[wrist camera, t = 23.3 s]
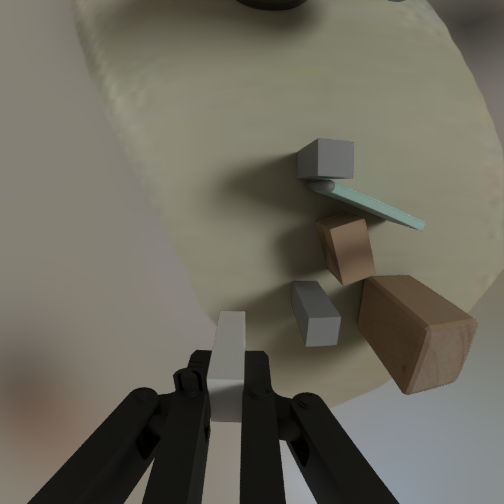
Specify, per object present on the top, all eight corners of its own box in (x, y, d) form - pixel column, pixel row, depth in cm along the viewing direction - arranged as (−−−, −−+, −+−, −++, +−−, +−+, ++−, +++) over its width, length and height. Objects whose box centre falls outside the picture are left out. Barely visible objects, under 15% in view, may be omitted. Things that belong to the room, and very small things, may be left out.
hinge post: (297, 152, 39) (318, 138, 27) (323, 153, 39) (353, 141, 27) (296, 178, 40) (317, 175, 28) (322, 179, 40) (353, 178, 28)
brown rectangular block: (315, 221, 42) (329, 229, 34) (344, 212, 42) (364, 218, 34) (327, 268, 44) (343, 286, 36) (355, 259, 43) (375, 274, 36)
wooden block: (354, 327, 46) (402, 399, 27) (362, 274, 44) (427, 330, 25) (400, 323, 47) (457, 383, 27) (410, 273, 44) (482, 320, 25)
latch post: (292, 281, 44) (309, 318, 31) (317, 281, 44) (341, 316, 31) (291, 304, 45) (305, 346, 32) (314, 303, 45) (336, 344, 32)
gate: (304, 188, 40) (321, 189, 30) (307, 179, 40) (325, 178, 30) (388, 221, 41) (422, 232, 32) (391, 213, 41) (425, 222, 31)
